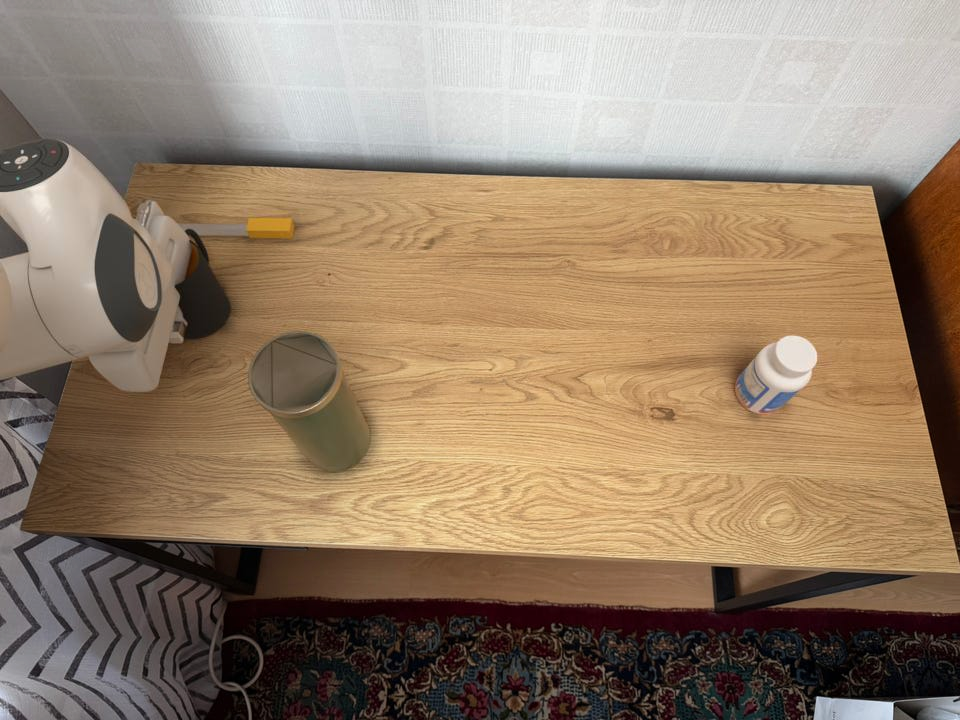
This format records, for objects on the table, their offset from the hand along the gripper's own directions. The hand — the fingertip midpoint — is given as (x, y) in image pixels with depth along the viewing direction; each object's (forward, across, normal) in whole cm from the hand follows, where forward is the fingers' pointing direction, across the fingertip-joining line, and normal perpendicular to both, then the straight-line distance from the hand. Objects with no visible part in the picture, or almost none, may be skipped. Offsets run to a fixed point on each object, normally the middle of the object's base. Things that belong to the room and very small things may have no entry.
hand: (179, 333), depth 77 cm
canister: (+4, +12, +20) cm, 24 cm away
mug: (+4, -7, 0) cm, 8 cm away
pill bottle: (+5, +5, +72) cm, 72 cm away
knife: (+4, -19, +2) cm, 19 cm away
